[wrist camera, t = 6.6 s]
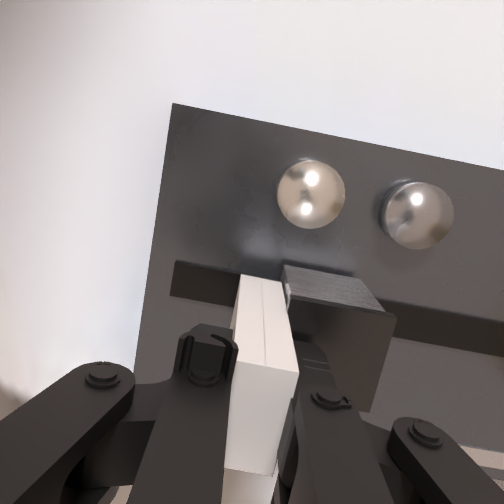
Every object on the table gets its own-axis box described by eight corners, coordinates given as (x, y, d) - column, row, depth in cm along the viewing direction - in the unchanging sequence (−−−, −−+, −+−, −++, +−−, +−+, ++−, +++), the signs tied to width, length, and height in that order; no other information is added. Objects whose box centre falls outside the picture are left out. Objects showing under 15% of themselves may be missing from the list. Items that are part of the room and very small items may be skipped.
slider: (265, 337, 18) (268, 395, 14) (282, 261, 17) (290, 298, 13) (343, 352, 18) (369, 412, 14) (363, 277, 17) (397, 318, 13)
